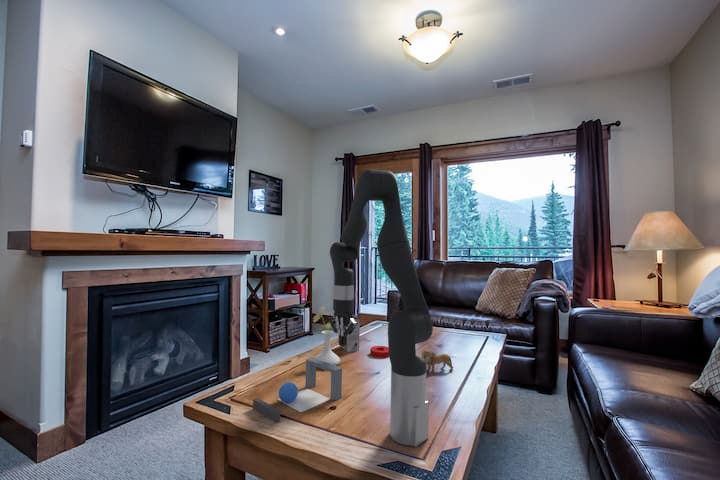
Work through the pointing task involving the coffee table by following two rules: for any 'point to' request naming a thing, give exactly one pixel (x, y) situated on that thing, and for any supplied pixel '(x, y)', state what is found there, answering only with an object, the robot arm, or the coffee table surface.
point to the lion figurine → (436, 360)
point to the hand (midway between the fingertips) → (342, 345)
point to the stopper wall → (266, 409)
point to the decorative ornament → (379, 351)
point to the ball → (288, 392)
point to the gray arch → (335, 370)
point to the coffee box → (353, 337)
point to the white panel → (306, 400)
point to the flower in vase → (326, 341)
